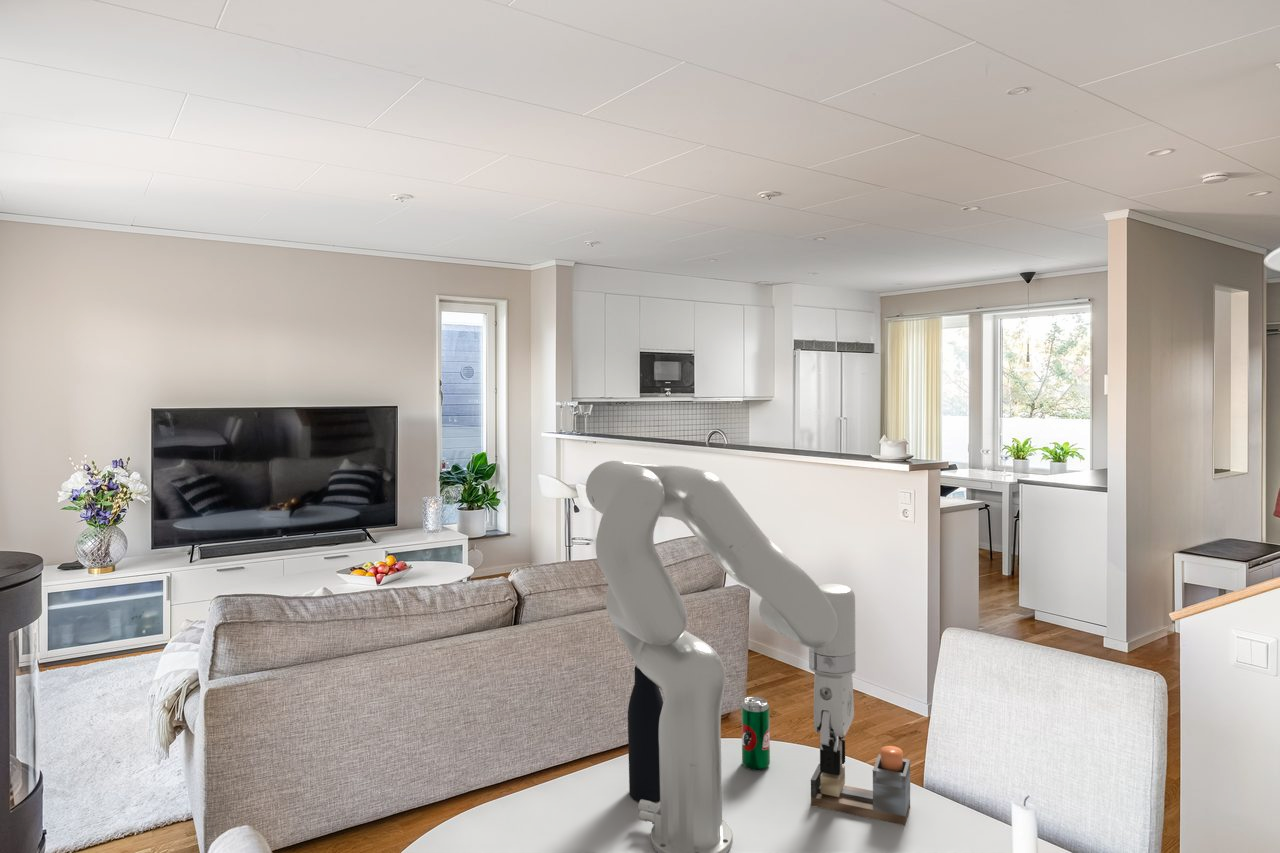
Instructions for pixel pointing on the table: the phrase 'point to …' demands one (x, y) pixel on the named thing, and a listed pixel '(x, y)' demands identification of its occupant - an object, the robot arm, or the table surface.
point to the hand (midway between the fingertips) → (832, 766)
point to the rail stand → (870, 795)
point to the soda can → (755, 733)
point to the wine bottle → (644, 739)
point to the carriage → (833, 778)
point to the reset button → (891, 758)
